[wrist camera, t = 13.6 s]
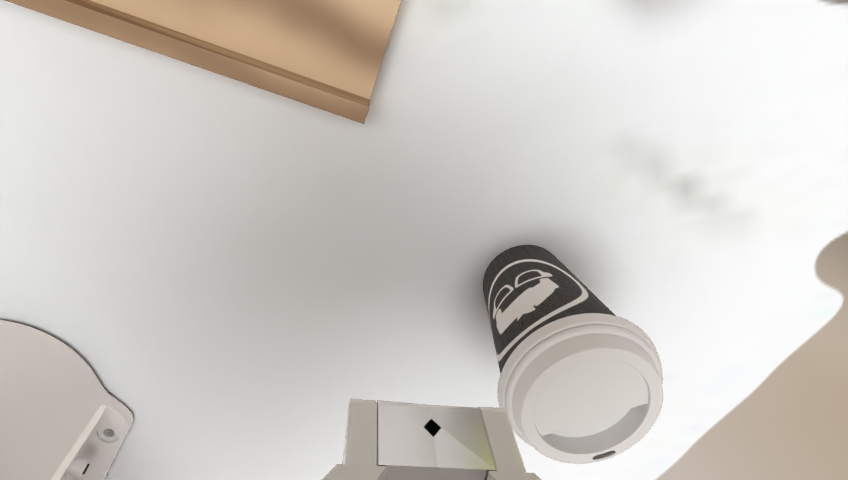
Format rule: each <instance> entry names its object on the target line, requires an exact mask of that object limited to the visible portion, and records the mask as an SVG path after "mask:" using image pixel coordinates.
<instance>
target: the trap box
mask: <svg viewBox="0 0 848 480" xmlns="http://www.w3.org/2000/svg"><path fill="white" fill-rule="evenodd" d="M5 1H8V2H11V3H14V4H17V5H20V6H23V7H26V8H29V9H31V10H34V11H37V12H40V13H43V14H46V15H49V16H52V17H55V18H58V19H61V20H63V21H66V22H69V23H72V24H75V25H78V26H81V27H84V28H87V29H90V30H93V31H95V32H98V33H101V34H104V35H107V36H110V37H113V38H116V39H119V40H122V41H125V42H127V43H130V44H133V45H136V46H139V47H142V48H145V49H148V50H151V51H154V52H157V53H159V54H162V55H165V56H168V57H171V58H174V59H177V60H180V61H183V62H186V63H189V64H191V65H194V66H197V67H200V68H203V69H206V70H209V71H212V72H215V73H218V74H221V75H223V76H226V77H229V78H232V79H235V80H238V81H241V82H244V83H247V84H250V85H253V86H255V87H258V88H261V89H264V90H267V91H270V92H273V93H276V94H279V95H282V96H284V97H287V98H290V99H293V100H296V101H299V102H302V103H305V104H308V105H311V106H314V107H316V108H319V109H322V110H325V111H328V112H331V113H334V114H337V115H340V116H343V117H346V118H348V119H351V120H354V121H357V122H360V123H363V124H364V122H365V119H366V116H367V113H368V110H369V104H370V98H371V94H372V91H373V88H374V85H375V82H376V79H377V75H378V72H379V69H380V66H381V63H382V60H383V57H384V53H385V50H386V47H387V44H388V41H389V38H390V34H391V31H392V28H393V25H394V22H395V19H396V16H397V12H398V9H399V6H400V3H401V0H5Z"/></svg>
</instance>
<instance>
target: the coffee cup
mask: <svg viewBox="0 0 848 480" xmlns="http://www.w3.org/2000/svg"><path fill="white" fill-rule="evenodd" d="M483 291H484V296H485V301H486V305H487V310H488V315H489V319H490V324H491V329H492V334H493V338H494V343H495V348H496V353H497V358H498V363H499V368H500V373H501V375H500V379H499V383H498V402H499V406H500V408H503V409H504V410H505V411H506V413H507V416H508V419H509V422H510V425H511V428H512V430H513V431H514V432H515V433H516V434H517V435H518V436H519V437H520V438H521V439H523V440H524V441H525V442H526V443H528V444H529V445H531V446H532V447H534V448H535V449H536V450H537V451H538V452H540V453H541V454H543V455H545V456H546V457H548V458H551V459H553V460H556V461H560V462H565V463H573V464H584V463H592V462H598V461H602V460H605V459H608V458H611V457H614V456H616V455H618V454H620V453H622V452H624V451H626V450H627V449H629V448H630V447H632V446H633V445H635V444H636V443H637V442H638V441H640V440H641V439H642V438H643V437H644V436H645V435H646V434H647V432H648V431H649V430H650V429H651V427H652V426H653V424H654V423H655V421H656V419H657V417H658V415H659V413H660V410H661V407H662V402H663V388H662V382H663V377H662V368H661V362H660V359H659V356H658V353H657V350H656V348H655V346H654V344H653V342H652V341H651V339H650V338H649V337H648V335H647V334H646V333H645V332H644V331H643V330H642V329H641V328H639V327H638V326H637V325H635V324H633V323H632V322H630V321H628V320H626V319H623V318H620V317H617V316H616V315H614V314H613V313H612V312H611V311H610V310H609V309H608V308H607V307H606V306H605V305H604V304H603V303H602V302H601V301H600V300H599V299H598V298H597V297H596V296H595V295H594V294H593V293H592V292H591V291H590V290H589V289H588V288H587V287H586V286H585V285H583V284H582V283H581V282H580V281H579V280H578V279H577V278H576V277H575V276H574V275H573V274H572V273H571V272H570V271H569V270H568V269H567V268H566V267H565V266H564V265H563V264H562V263H561V262H560V261H559V260H558V259H557V258H556V257H555V256H554V255H553V254H552V253H550V252H549V251H547V250H546V249H543V248H541V247H538V246H533V245H522V246H517V247H513V248H510V249H508V250H506V251H504V252H503V253H501V254H500V255H498V256H497V257H496V258H495V259H494V260H493V261H492V262H491V264H490V265H489V267H488V268H487V270H486V273H485V276H484V280H483Z"/></svg>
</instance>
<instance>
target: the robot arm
mask: <svg viewBox="0 0 848 480" xmlns="http://www.w3.org/2000/svg"><path fill="white" fill-rule="evenodd" d="M132 423H133V415H132V413H131V412H130V410H129V409H128V408H127V407H126V406H124V405H123V404H122V403H121V402H119V401H118V400H117V399H115V398H114V397H113V396H111V395H110V394H109V393H108V392H107V391H106V390H105V389H104V388H103V386H102V385H101V383H100V381H99V380H98V378H97V377H96V375H95V373H94V372H93V370H92V369H91V368H90V367H89V365H88V364H87V363H86V362H85V361H84V360H83V359H82V358H81V357H80V356H79V355H78V354H77V353H76V352H75V351H73V350H72V349H71V348H70V347H68V346H67V345H66V344H64V343H63V342H61V341H59V340H58V339H56V338H54V337H53V336H51V335H49V334H47V333H44V332H42V331H40V330H37V329H35V328H32V327H29V326H26V325H23V324H19V323H15V322H10V321H4V320H0V480H104V479H105V477H106V475H107V473H108V471H109V469H110V467H111V465H112V463H113V461H114V459H115V457H116V455H117V453H118V451H119V449H120V447H121V445H122V443H123V441H124V439H125V437H126V435H127V433H128V431H129V429H130V427H131V425H132ZM109 429H111V430H113V431H111V430H109ZM323 480H541V479H540V478H539V477H538V476H537V475H536V474H534V473H526V470H525V467H524V464H523V461H522V458H521V455H520V452H519V449H518V446H517V443H516V440H515V437H514V434H513V431H512V428H511V425H510V422H509V419H508V416H507V413H506V411H505V410H504V409H503V408H493V407H477V408H476V407H458V406H440V405H426V404H414V403H402V402H390V401H378V400H377V402H376V401H374V400H361V399H350V403H349V411H348V419H347V428H346V436H345V445H344V454H343V463H342V464H337V465H336V466H335V467H334V468H333V469H332V470H331V471H330V472H329V473H328V474H327V475H326V476H325V478H324V479H323Z"/></svg>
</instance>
